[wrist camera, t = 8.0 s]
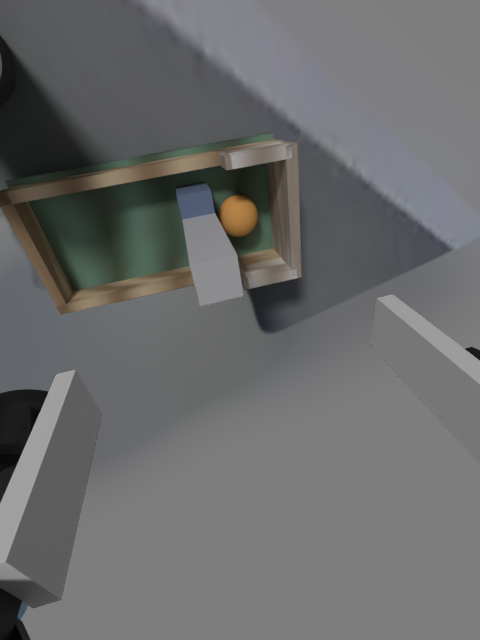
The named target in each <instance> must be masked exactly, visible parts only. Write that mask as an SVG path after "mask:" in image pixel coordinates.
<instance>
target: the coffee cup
mask: <svg viewBox="0 0 480 640" xmlns="http://www.w3.org/2000/svg"><path fill="white" fill-rule="evenodd" d="M14 83H15V71H14V65H13V61H12V58H11V55H10V53H9V50H8V48H7V46H6V44H5V43H4V41H3V39H2V38H1V36H0V105H1V104H3V103H4V102H5V101H6V100H7V99H8V98H9V97H10V95H11V93H12V91H13V88H14Z"/></svg>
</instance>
